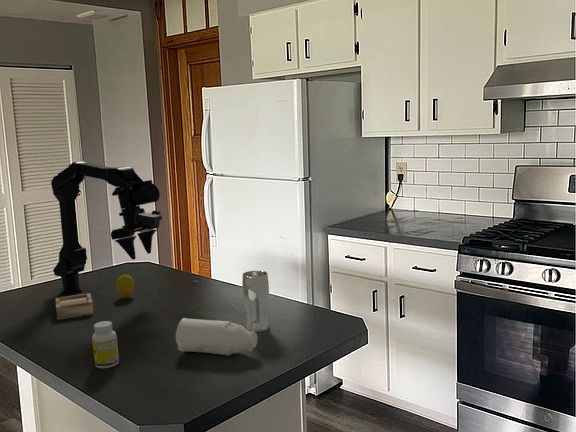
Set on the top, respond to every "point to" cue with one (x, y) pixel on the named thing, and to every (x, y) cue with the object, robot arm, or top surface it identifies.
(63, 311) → the wooden serving tray
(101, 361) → the supplement bottle
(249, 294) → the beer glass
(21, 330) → the top surface
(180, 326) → the white plastic bottle
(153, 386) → the top surface
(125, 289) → the lemon
